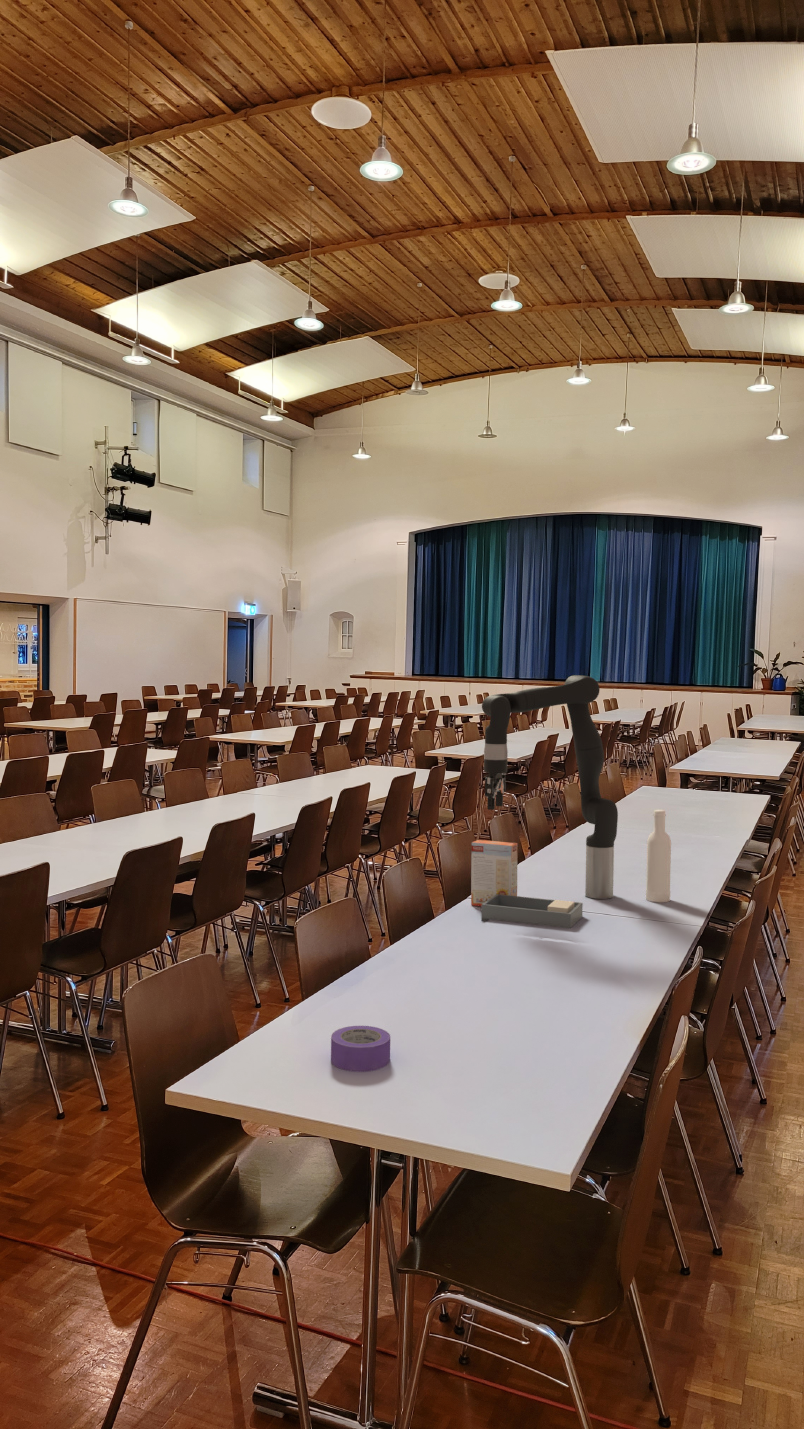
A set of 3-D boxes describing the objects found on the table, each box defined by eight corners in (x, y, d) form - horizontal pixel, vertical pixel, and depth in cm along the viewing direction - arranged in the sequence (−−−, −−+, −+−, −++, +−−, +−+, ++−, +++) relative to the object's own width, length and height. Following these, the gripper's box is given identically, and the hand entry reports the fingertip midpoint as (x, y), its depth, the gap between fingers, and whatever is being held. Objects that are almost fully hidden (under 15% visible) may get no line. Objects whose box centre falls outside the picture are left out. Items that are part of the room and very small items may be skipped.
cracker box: (517, 906, 324) (518, 842, 322) (510, 910, 318) (511, 845, 317) (477, 901, 330) (478, 838, 329) (470, 905, 325) (471, 841, 324)
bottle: (668, 897, 337) (670, 808, 336) (672, 903, 330) (674, 812, 328) (644, 896, 338) (645, 808, 337) (647, 902, 330) (649, 811, 329)
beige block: (555, 915, 309) (555, 899, 309) (574, 918, 307) (574, 901, 306) (547, 922, 301) (547, 906, 300) (566, 925, 298) (567, 908, 298)
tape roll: (389, 1048, 205) (389, 1024, 205) (391, 1072, 194) (391, 1046, 193) (331, 1049, 205) (331, 1025, 205) (329, 1072, 193) (329, 1047, 193)
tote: (496, 909, 320) (496, 894, 319) (582, 918, 309) (582, 902, 308) (481, 920, 306) (481, 904, 306) (570, 930, 295) (570, 914, 295)
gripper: (500, 760, 314) (499, 811, 314) (513, 756, 327) (513, 805, 328) (477, 759, 317) (476, 810, 317) (491, 755, 330) (491, 804, 331)
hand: (495, 807), depth 322 cm, fingers open, 8 cm apart
